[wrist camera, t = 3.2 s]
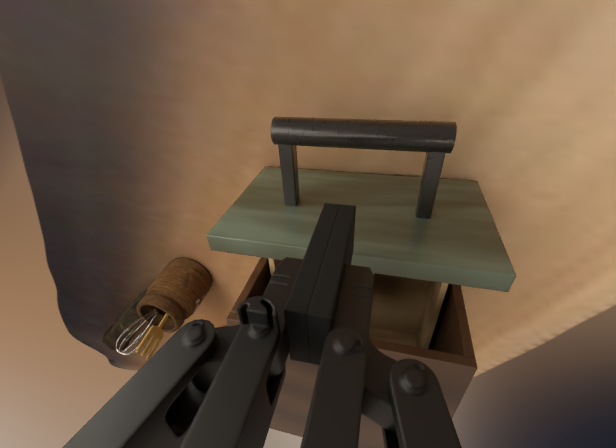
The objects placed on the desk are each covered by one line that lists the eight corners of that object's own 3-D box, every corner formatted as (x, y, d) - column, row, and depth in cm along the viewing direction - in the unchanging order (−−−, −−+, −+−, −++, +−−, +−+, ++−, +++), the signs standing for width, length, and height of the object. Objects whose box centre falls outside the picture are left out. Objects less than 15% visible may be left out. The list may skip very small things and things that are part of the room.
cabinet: (275, 231, 31) (226, 319, 23) (454, 253, 27) (477, 368, 19) (289, 337, 42) (259, 425, 33) (420, 363, 38) (425, 471, 29)
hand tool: (135, 334, 53) (116, 359, 49) (115, 321, 52) (93, 345, 48) (180, 292, 42) (159, 320, 38) (155, 275, 41) (131, 301, 37)
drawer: (255, 95, 23) (178, 142, 15) (502, 98, 19) (571, 163, 11) (283, 305, 37) (251, 387, 29) (431, 331, 33) (439, 433, 25)
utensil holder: (161, 263, 39) (85, 346, 30) (191, 249, 36) (116, 336, 27) (193, 294, 41) (131, 380, 32) (224, 283, 38) (165, 374, 29)
